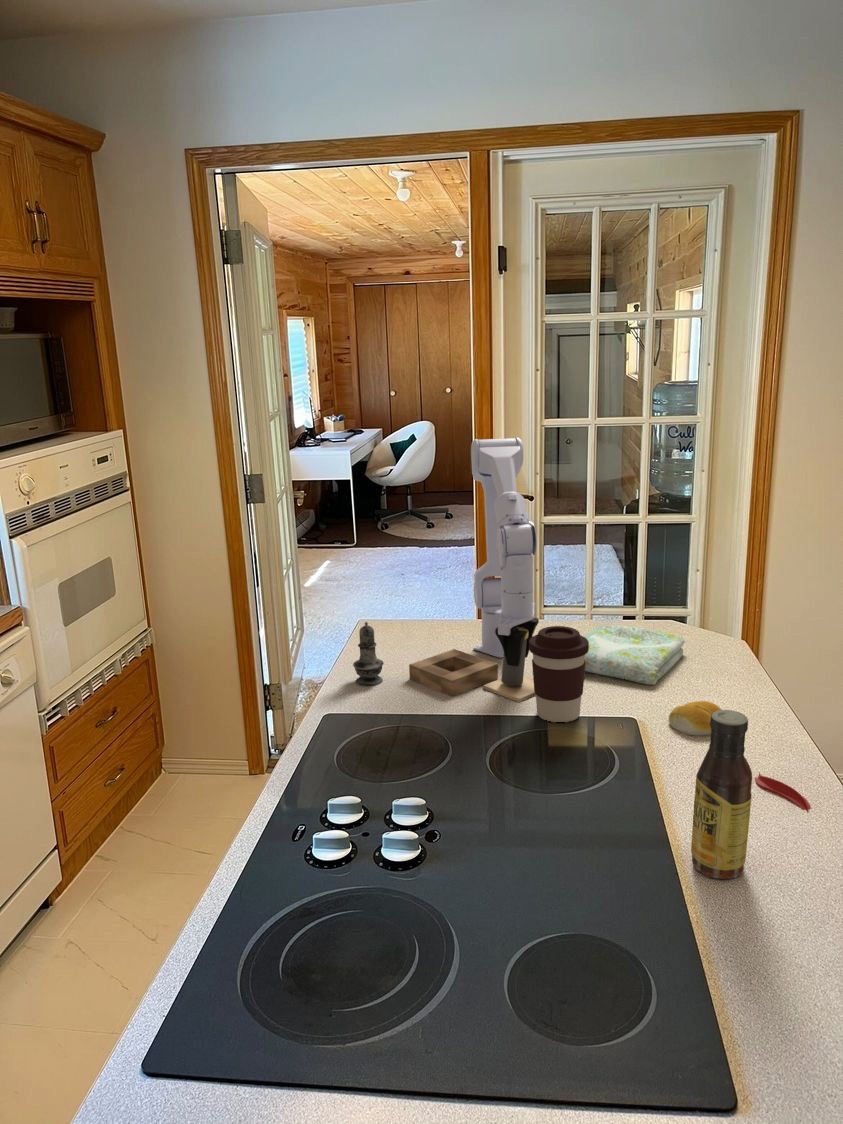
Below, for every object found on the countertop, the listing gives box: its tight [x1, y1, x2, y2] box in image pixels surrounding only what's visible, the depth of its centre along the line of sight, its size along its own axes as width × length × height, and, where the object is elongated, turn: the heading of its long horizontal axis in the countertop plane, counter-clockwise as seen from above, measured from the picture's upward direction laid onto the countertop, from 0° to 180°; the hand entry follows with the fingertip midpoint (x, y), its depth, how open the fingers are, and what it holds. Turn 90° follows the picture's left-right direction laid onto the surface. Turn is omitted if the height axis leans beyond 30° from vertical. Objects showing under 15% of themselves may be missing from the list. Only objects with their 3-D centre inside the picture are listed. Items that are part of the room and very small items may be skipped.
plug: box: [500, 627, 529, 686], centre depth 157 cm, size 4×4×10 cm
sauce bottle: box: [690, 709, 753, 880], centre depth 100 cm, size 6×6×20 cm
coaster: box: [482, 675, 536, 703], centre depth 159 cm, size 9×9×1 cm
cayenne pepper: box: [754, 772, 812, 814], centre depth 119 cm, size 12×5×2 cm, turn 3°
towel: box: [582, 625, 686, 686], centre depth 170 cm, size 18×21×5 cm
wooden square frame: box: [408, 648, 499, 697], centre depth 164 cm, size 12×12×3 cm
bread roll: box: [668, 700, 723, 737], centre depth 141 cm, size 8×9×4 cm
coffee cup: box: [529, 625, 589, 723], centre depth 145 cm, size 10×10×15 cm
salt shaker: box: [352, 621, 385, 687], centre depth 163 cm, size 6×6×12 cm
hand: (517, 660), depth 157 cm, fingers closed on plug, 4 cm apart
